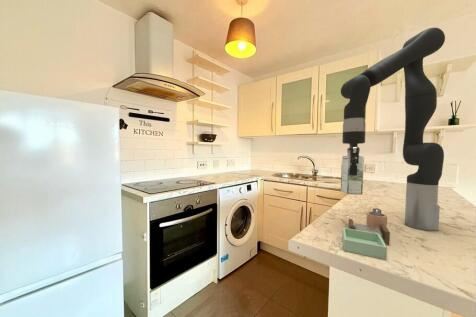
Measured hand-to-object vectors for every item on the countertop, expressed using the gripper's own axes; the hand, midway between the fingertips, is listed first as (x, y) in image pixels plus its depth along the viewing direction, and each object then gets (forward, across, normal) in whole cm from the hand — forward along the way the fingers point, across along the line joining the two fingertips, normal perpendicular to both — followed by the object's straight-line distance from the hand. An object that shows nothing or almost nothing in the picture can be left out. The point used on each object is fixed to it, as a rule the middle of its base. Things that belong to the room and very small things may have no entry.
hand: (352, 174), depth 76 cm
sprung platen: (+19, -8, -4) cm, 21 cm away
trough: (+20, -18, -2) cm, 27 cm away
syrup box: (+8, 0, 0) cm, 8 cm away
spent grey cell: (+21, +1, -8) cm, 22 cm away
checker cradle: (+21, -8, -4) cm, 23 cm away
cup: (+21, +1, -8) cm, 22 cm away
